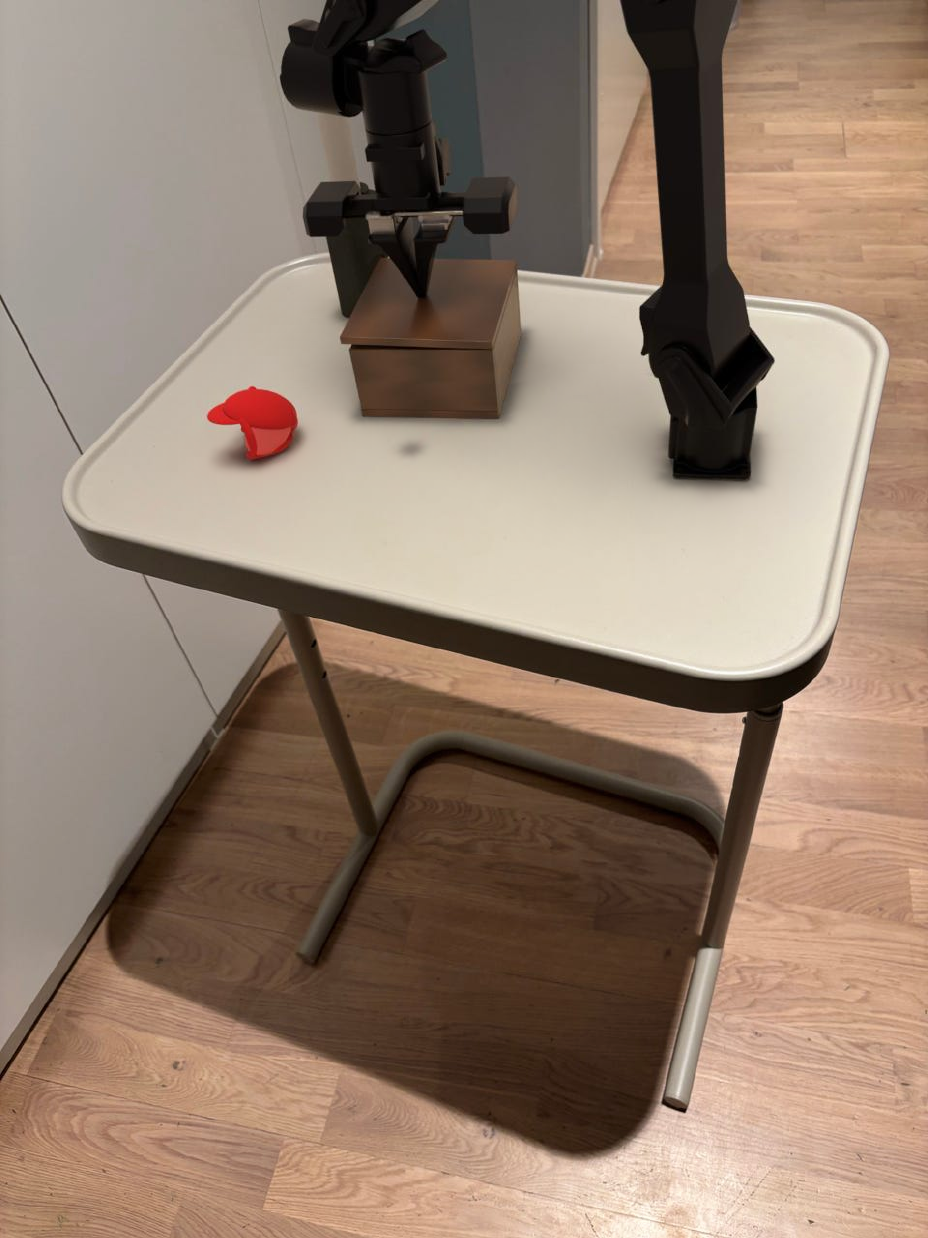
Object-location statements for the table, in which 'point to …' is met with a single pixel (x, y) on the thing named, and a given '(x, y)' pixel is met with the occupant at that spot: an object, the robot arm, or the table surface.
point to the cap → (258, 419)
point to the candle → (351, 246)
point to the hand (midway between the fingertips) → (422, 295)
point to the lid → (433, 306)
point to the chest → (439, 374)
